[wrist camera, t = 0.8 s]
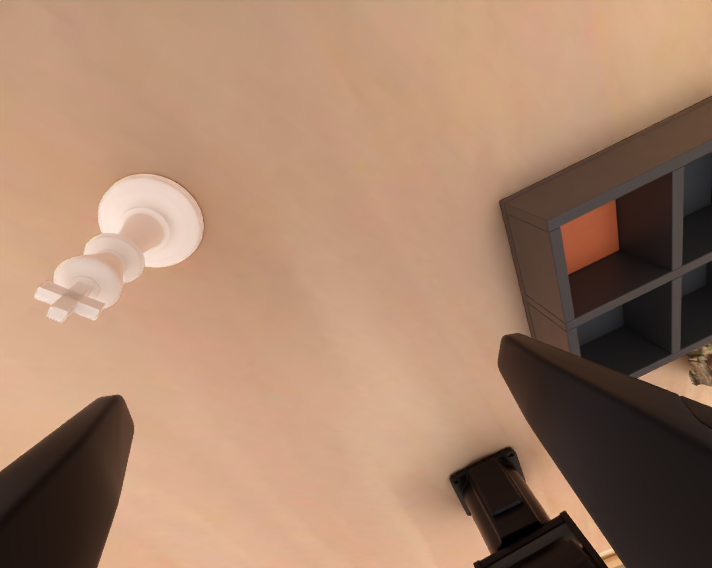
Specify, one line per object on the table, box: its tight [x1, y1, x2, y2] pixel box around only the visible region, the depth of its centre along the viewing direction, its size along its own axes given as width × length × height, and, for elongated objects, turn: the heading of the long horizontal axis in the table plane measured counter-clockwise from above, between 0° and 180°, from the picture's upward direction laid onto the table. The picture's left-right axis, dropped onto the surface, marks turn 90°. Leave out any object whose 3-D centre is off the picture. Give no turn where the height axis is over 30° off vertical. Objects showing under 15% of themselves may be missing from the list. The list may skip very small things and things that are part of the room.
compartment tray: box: [500, 97, 712, 378], centre depth 25 cm, size 15×15×5 cm
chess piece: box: [34, 174, 204, 323], centre depth 15 cm, size 5×5×10 cm
